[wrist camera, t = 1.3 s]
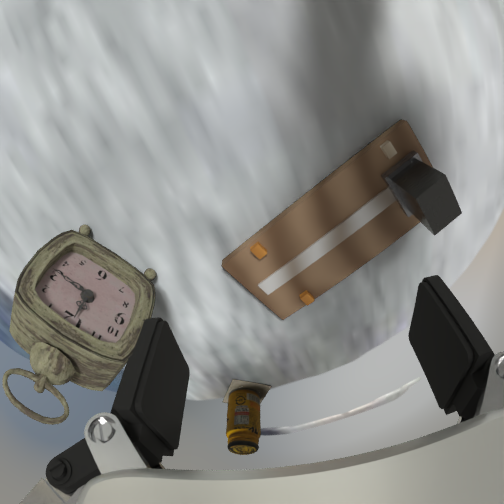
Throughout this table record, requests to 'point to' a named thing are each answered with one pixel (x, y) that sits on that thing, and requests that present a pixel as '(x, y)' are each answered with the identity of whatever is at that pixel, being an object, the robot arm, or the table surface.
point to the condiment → (244, 415)
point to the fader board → (328, 229)
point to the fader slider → (422, 192)
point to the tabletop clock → (77, 315)
